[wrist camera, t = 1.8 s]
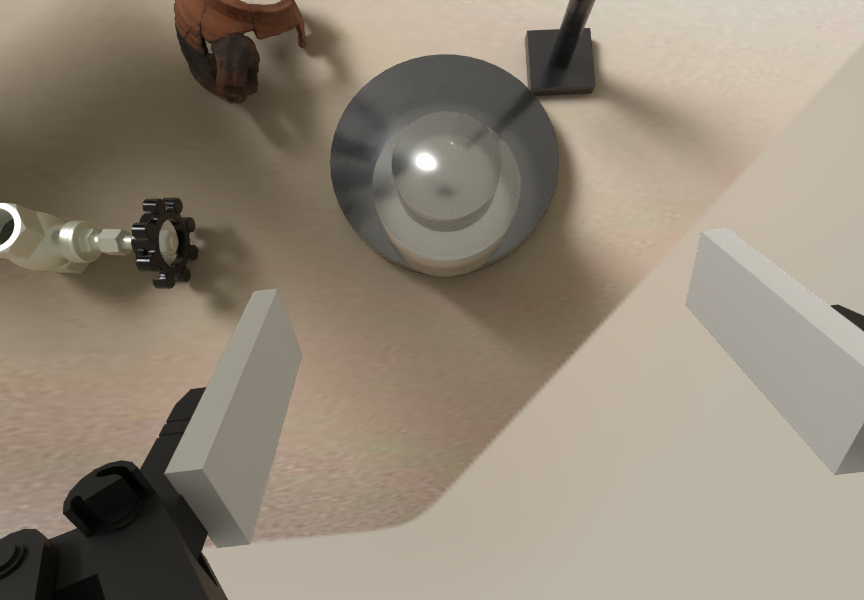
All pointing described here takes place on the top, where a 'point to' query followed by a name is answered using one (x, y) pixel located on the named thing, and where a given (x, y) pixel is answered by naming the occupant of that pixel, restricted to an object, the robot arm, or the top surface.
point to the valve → (99, 241)
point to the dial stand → (562, 55)
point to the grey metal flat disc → (436, 92)
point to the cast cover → (446, 193)
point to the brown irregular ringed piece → (230, 41)
